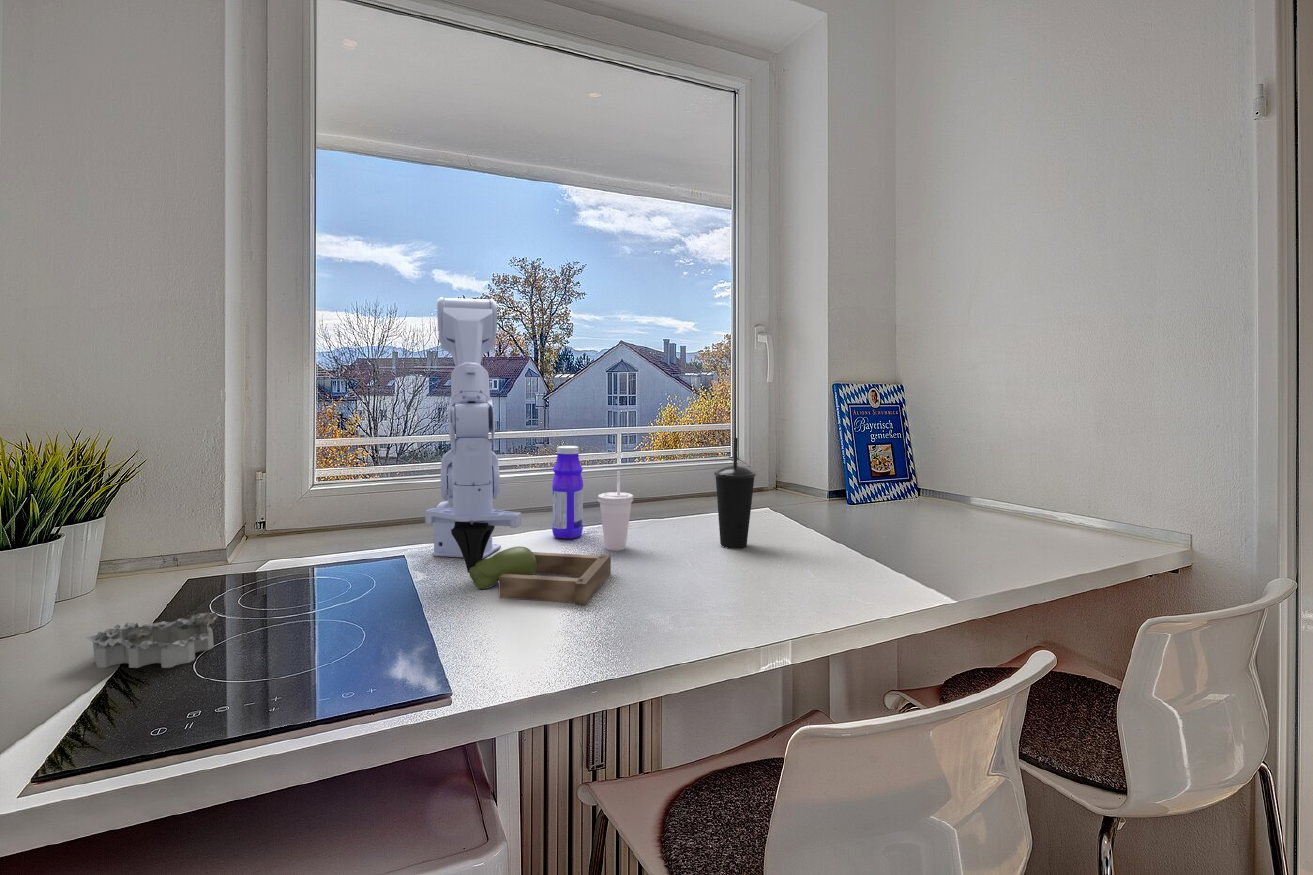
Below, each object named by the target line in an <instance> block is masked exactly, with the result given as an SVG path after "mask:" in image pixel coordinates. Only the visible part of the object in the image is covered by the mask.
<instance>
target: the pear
mask: <svg viewBox="0 0 1313 875" xmlns="http://www.w3.org/2000/svg"><path fill="white" fill-rule="evenodd" d="M533 552H534V551H532V550H531V549H529V548H527V547H526V546H513V547H510V548H506V549H503V550H500V551H499V552H497V553H494V554H493V555H492V556H490V557H488V558H486V557H485V558H482V560H480V561H479V562H477V563H476V564H475V566H473V567H471V568H470V570H468V571H469V573H468V574H469V577H470V579H471V580H472V582H473V584H474V585H475V587H476V588H477V589H479V590H485V589H488V588H491V587H493V586H494V585H495V584H496V583H499V576H501V575H502V574H515V575H531V576H534V575H535V574H536V573H535V571H536V565H537V564H536V558H535V556H534V554H533Z"/></svg>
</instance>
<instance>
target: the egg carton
mask: <svg viewBox="0 0 1313 875" xmlns="http://www.w3.org/2000/svg"><path fill="white" fill-rule="evenodd" d="M217 618H218V614H217V613H216V612H204V613H203V612H202V613H201V612H200V613H199V612H198V613H195V614H192V615H191V617H190V618H189V619H185V618H177V620H175V621H171V622H170V621H159V622H154V623H153V622H150V623H149V624H143V625H141V626H139V624H138V623H135V622H131V623H129V622H126V623H125V624H124V626H123V627H122V628H121V626H120V624H116V625H114V627H113V628H108V629H106V630H104V631H98V632H97V634H94V635H91V636H84V638H85V639H87V640H89V641H90V642H92V643H93V644H92V648H93V657H94V658H93V659H94V660H93V663H94V664H96V668H97V669H106V668H108V667H112V666H114V665H119V664H120V665H121V664H128V668H130V669H131V668H132V669H138V668H141V667H144V666H147V665H151V664H161V668H163V669H169V668H173V667H175V666H179V665H183V664H189V663H191V662H193V661H195V659H196V653H199V652H206V651H209V650H210V651H211V649H213V648H215V646H214V634H213V628H211V627H210V624H211V625H212V624H213V623H214V622H215V621H216V619H217Z"/></svg>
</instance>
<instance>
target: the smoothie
mask: <svg viewBox="0 0 1313 875" xmlns="http://www.w3.org/2000/svg"><path fill="white" fill-rule="evenodd" d="M597 497H598V499H597V502H599V507H600V509H599V510H600V517H601V526H602V532H603V541H604V548H605V550H607V551H615V552H616V551H617V552H618V551H624V550H626V548H627V547H626V545H627V541H628V540H627V539H628V531H629V523H630V515H631V511H632V510H631V508H632V503H633V502H634V494H632V493H630V492H629V493H628V492H621V471H620V470H617V472H616V491H614V492H602V493H599V494H598V496H597Z"/></svg>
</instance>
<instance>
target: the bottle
mask: <svg viewBox="0 0 1313 875" xmlns="http://www.w3.org/2000/svg"><path fill="white" fill-rule="evenodd" d="M556 449H557V450H556V451H557V452H556V454H557V456H556V461H555V465H554V466H553V467H552V471H553V473H554V476H553V479H552V485H551V488H552V526H551V532H552V535H553V537H555V538H556V539H568V540H569V539H570V540H572V539H576V538H578V537H579V536H581V535H582V532H583V530H584V525H583V524H584V520H583V519H584V516H583V515H584V513H583V512H584V511H583V510H584V509H583V505H584V504H583V502H584V501H583V500H584V499H583V498H584V495H583V494H584V492H583V490H584V480H583V477H582V473H583V467H582V464H581V462H580V457H579V455H580V454H579V446H577V445H561V446H560V445H559V446H557V448H556Z"/></svg>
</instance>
